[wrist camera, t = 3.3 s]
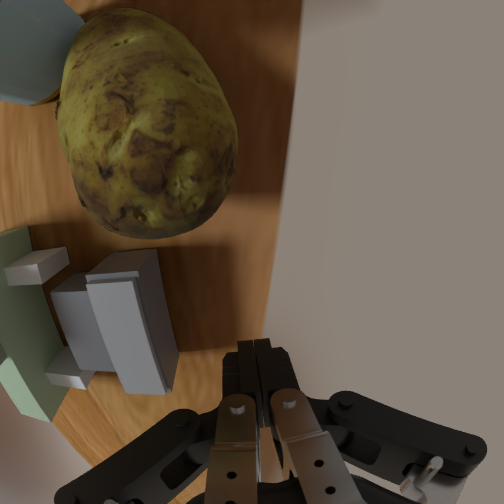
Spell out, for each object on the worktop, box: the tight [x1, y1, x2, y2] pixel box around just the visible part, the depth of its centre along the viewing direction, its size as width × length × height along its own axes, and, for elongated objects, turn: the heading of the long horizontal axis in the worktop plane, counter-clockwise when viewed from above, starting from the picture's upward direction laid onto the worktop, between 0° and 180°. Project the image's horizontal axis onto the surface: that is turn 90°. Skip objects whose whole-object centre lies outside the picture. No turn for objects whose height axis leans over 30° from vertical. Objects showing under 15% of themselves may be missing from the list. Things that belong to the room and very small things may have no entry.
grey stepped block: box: [50, 248, 179, 395], centre depth 15 cm, size 8×6×4 cm
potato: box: [55, 8, 238, 239], centre depth 10 cm, size 8×13×8 cm, turn 6°
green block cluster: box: [0, 226, 95, 422], centre depth 13 cm, size 13×7×8 cm, turn 4°
